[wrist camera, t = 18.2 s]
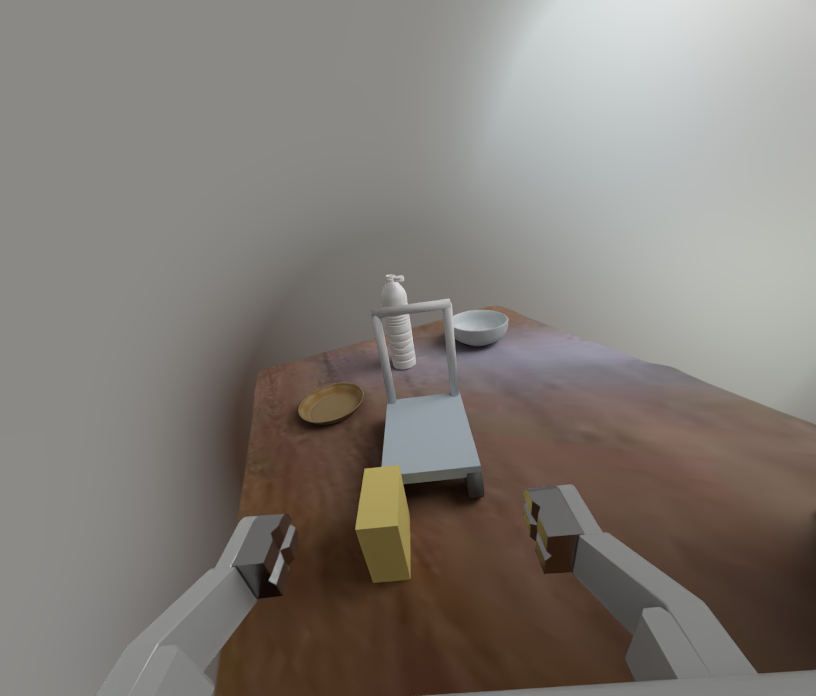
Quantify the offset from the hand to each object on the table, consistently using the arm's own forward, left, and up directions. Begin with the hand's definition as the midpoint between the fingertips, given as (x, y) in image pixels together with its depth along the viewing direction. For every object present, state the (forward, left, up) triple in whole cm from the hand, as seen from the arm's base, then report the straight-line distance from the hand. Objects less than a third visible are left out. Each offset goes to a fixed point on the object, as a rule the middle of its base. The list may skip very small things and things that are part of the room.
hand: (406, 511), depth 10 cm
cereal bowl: (-18, -75, -30) cm, 83 cm away
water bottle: (+4, -65, -30) cm, 72 cm away
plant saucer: (+21, -49, -30) cm, 61 cm away
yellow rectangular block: (+6, -17, -30) cm, 35 cm away
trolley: (0, -32, -30) cm, 44 cm away
